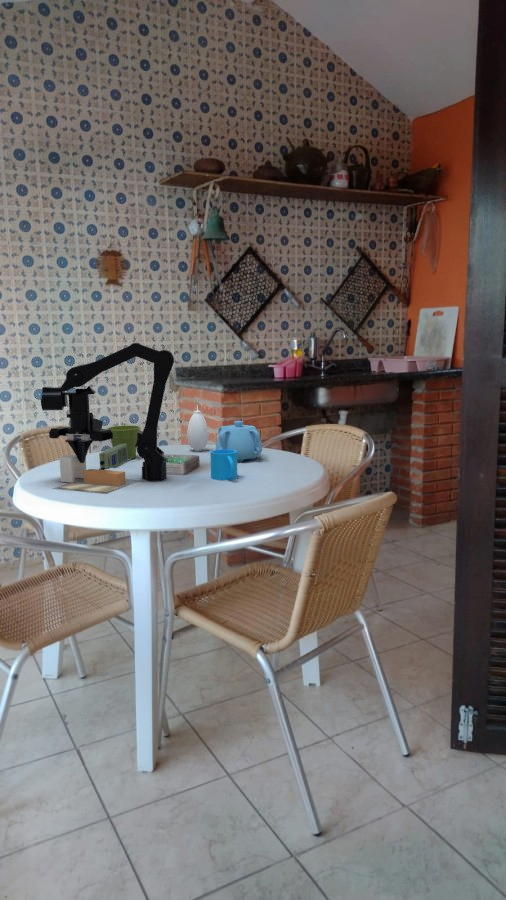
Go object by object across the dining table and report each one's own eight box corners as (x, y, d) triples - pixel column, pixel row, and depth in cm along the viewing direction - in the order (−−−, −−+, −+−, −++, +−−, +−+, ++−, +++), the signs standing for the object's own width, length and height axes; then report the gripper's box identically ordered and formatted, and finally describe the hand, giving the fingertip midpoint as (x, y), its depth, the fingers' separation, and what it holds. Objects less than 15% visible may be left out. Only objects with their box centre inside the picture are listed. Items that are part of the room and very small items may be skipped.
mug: (207, 476, 202) (206, 450, 201) (231, 473, 205) (231, 448, 204) (220, 484, 191) (220, 456, 190) (246, 481, 194) (245, 454, 193)
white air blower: (200, 453, 241) (199, 405, 238) (183, 451, 245) (182, 404, 242) (212, 450, 247) (211, 403, 244) (196, 448, 252) (195, 402, 248)
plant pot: (120, 454, 240) (119, 424, 238) (147, 456, 236) (146, 425, 234) (101, 460, 229) (99, 428, 227) (129, 462, 225) (128, 430, 223)
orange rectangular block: (125, 483, 188) (125, 471, 188) (118, 486, 185) (118, 474, 184) (91, 480, 193) (90, 468, 192) (83, 482, 189) (83, 471, 189)
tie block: (86, 477, 195) (85, 453, 194) (72, 482, 189) (70, 458, 187) (75, 476, 197) (74, 453, 195) (60, 481, 190) (59, 457, 189)
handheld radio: (129, 461, 228) (101, 476, 203) (121, 462, 228) (91, 476, 204) (128, 443, 226) (99, 455, 202) (119, 443, 227) (89, 456, 203)
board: (141, 483, 192) (141, 480, 192) (106, 497, 176) (105, 493, 176) (90, 479, 199) (90, 475, 199) (52, 492, 183) (52, 488, 182)
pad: (119, 488, 182) (119, 487, 182) (106, 493, 176) (106, 492, 176) (72, 484, 188) (72, 482, 188) (58, 488, 182) (58, 487, 182)
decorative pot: (213, 463, 223) (212, 424, 220) (218, 454, 238) (217, 418, 236) (260, 463, 222) (260, 424, 219) (262, 454, 237) (262, 418, 235)
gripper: (122, 408, 192) (124, 460, 194) (70, 406, 199) (73, 456, 201) (100, 412, 182) (102, 466, 184) (46, 410, 188) (49, 462, 191)
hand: (82, 462), depth 190 cm, fingers closed
